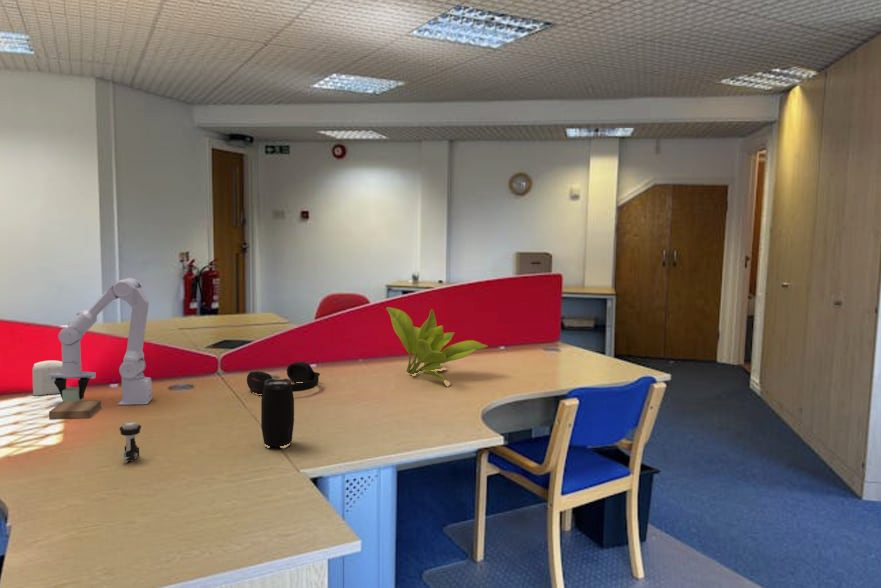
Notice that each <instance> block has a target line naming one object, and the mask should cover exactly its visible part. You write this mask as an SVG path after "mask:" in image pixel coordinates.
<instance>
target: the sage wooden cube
mask: <svg viewBox="0 0 881 588" xmlns="http://www.w3.org/2000/svg"><path fill="white" fill-rule="evenodd" d="M62 398H63V400H62V402H63V401H84V398H83V399H80V397H79V386H66V389H64V390H63V391H62V397H61V399H62Z"/></svg>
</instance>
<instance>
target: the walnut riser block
mask: <svg viewBox="0 0 881 588" xmlns="http://www.w3.org/2000/svg"><path fill="white" fill-rule="evenodd" d="M101 408H102V401H101V400H83V401H63V400H62V401H61V402H60V403H59V404H58V405H56V406H54V408H52V409H51V410H49V411H48V415H49V417H48V418H49V419H48V420H75V419H78V420H79V419H82V418H83V419H91V418H92V417H93V416H94V415H95V414H96V413H97V412H98V411H99V410H101Z"/></svg>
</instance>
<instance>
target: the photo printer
mask: <svg viewBox="0 0 881 588" xmlns="http://www.w3.org/2000/svg"><path fill="white" fill-rule="evenodd" d="M58 372H63V368H62V360H61V361H60V360H52V359H51V360H50V359H49V360H43V361H38V362H35V363H34V364H33V367H32V394H33V395H32V396H34V397H37V396H46V395H47V394H48V395H57V394H58V393H59V394H60V392H59V390H58V388H57V386H56V385H55V383H54V381H55V379H52V380H49V379H48V374H50V373H58ZM48 395H47V396H48Z"/></svg>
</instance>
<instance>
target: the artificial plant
mask: <svg viewBox="0 0 881 588" xmlns="http://www.w3.org/2000/svg"><path fill="white" fill-rule="evenodd" d="M385 309H386V311H387V312H388V314H389V316H390V320H391V325H392V327H393V331H394V332H395V334H396V335H397V337H398V338H399V340H400V341H401V344H402V346H403V347H404V348H405V350H406V352H407V353H408V364H407V369H406V370H405V371H406V372H407V373H410V374H414V373H418V372H419V371H421V372H422V373H421V372H420V373H418V374H416V375H417V376H420V375H421V376H422V375H429V376H430V375H431V376H434V377H436V378H438V379H440V380H441V381H442V383H443V382H444V380H446V377H445V376H443V375H442V374H439V372H435V371H431V370H435V369H441V368H443V367H444V366H443V367H442V365H441V364H445V363H448V362H452V361H457V360H460V359H463V358H465V357H467V356H470V354H472V353H473V352H475V351H478V350H481V349H482V350H483V349H486V348H488V346H489V345H487V344H485V343H484V344H483V343H481V342H479V341H476V340H474V339H473V340H464V341H459V342H456V343H454V344H451V345H448V346H447V344H449V342H450V341H451V340H452V339H453V336H454V335H455V332H454V331H453V332H446V333H445V332H444V326H443V325H439V326H437V324H438V323H437V319H436V315H435V312H434V309H431V310H430V311H429V316H428V318H427V319H426V320H425V321H424V323H422V325H421V326H420V327H417V326H414V324H413V320H412V318H411V317H410V316H409V314H407V313H406V312H405V311H403V310H402V309H398V308H395V307H387V306H386V308H385ZM445 346H447V347H445ZM444 347H445V348H444ZM443 348H444V349H443ZM412 355H413V356H414V358H413V360H412V359H411V357H412ZM421 364H423V366H421V367H419V366H420V365H421ZM440 365H441V366H440ZM410 374H409V375H410Z"/></svg>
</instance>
